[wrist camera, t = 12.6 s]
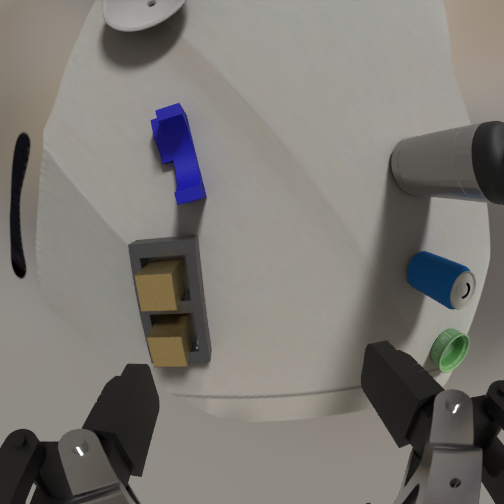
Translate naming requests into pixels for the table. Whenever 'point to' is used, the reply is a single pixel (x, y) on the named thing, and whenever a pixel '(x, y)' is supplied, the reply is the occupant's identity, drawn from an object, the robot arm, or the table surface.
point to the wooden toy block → (171, 340)
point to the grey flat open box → (193, 294)
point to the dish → (138, 13)
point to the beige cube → (161, 284)
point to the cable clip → (178, 152)
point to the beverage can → (441, 279)
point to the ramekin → (449, 349)
